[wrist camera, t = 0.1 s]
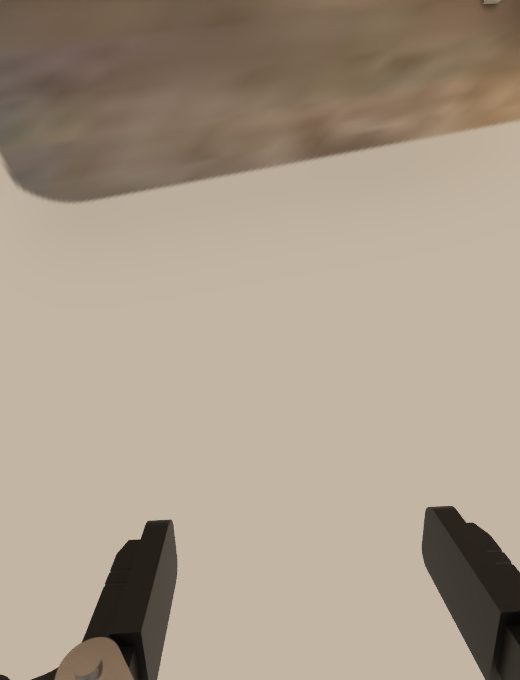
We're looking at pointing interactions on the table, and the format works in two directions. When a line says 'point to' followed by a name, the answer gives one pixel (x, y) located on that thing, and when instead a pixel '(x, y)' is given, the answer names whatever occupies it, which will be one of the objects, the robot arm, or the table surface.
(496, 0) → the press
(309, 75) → the table surface
